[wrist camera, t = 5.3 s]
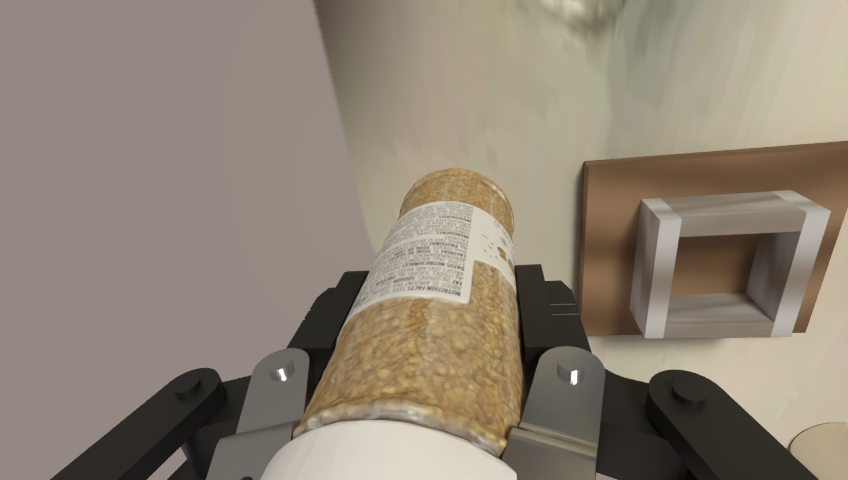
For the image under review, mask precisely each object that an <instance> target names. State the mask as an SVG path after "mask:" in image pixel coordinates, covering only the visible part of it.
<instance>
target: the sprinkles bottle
mask: <svg viewBox="0 0 848 480" xmlns="http://www.w3.org/2000/svg"><path fill="white" fill-rule="evenodd" d="M513 231H514V216H513V212H512V208H511V205H510V203H509V201H508V199H507V197H506V195H505V194H504V192H503V190H502V189H501V188H500V187H498V186H497V185H496V184H495V183H494V182H493V181H492V180H490V179H489V178H487V177H485V176H483V175H481V174H479V173H476V172H473V171H470V170H465V169H461V168H450V169H446V170H439V171H436V172H433V173H430V174H428V175H426V176H425V177H423V178H422V179H420V180H419V181H417V182H416V183H415V184H414V185H413V187H412V188H411V189H410V191H409V192H408V193H407V195H406V196H405V198H404V201H403V203H402V206H401V209H400V216H399V218H398V220H397V222H396V223H395V225H394V226H393V227H392V229H391V230H390V232H389V234H388V236H387V238H386V240H385V242H384V244H383V246H382V248H381V250H380V252H379V254H378V256H377V258H376V260H375V262H374V264H373V266H372V268H371V270H370V272H369V274H368V276H367V278H366V280H365V282H364V284H363V286H362V288H361V290H360V292H359V294H358V296H357V298H356V300H355V302H354V304H353V306H352V308H351V310H350V313H349V315H348V317H347V319H346V321H345V323H344V325H343V327H342V329H341V331H340V333H339V336H338V339H337V343H336V347H335V350H334V352H333V355H332V357H331V359H330V360H329V362H328V365H327V367H326V369H325V370H324V372H323V375H322V378H321V380H320V382H319V384H318V386H317V387H316V389H315V392H314V394H313V397H312V399H311V401H310V403H309V405H308V406H307V408H306V411H305V414H304V417H303V419H302V420H301V422H300V425H299V426H298V427H297V428H295V430H294V432H293V440H292V441H290V442H288V443H287V444H286V445H285V446H283V447H282V448H281V449H280V450H279V451H278V452H277V453H276V454H275V456H274V457H273V458H272V459H271V461H270V462H269V464H268V465H267V467H266V469H265V471H264V473H263V475H262V477H261V479H260V480H517V474H516V472H515V471H514V470H513V469H512V468H511V467H509V466H508V465H507V464H506V463H504V462H503V461H502V458H503V455H504V451H505V448H506V445H507V442H508V438H509V435H510V433H511V430H512V428H513V427H514V426H515V425H516V426H520V423H521V420H522V416H523V413H524V409H525V406H526V399H525V389H524V373H523V336H522V325H521V315H520V306H519V297H518V287H517V278H516V269H515V265H517V264H516V254H515V250H514V246H513V242H512V234H513Z"/></svg>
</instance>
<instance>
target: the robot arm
mask: <svg viewBox="0 0 848 480" xmlns="http://www.w3.org/2000/svg"><path fill="white" fill-rule="evenodd" d="M515 269H516V278H517V287H518V297H519V306H520V315H521V325H522V336H523V373H524V389H525V399H526V406H525V409H524V413H523V416H522V420H521V423H520V426H516V425H515V426H514V427H513V428H512V430H511V433H510V435H509V438H508V442H507V445H506V448H505V451H504V455H503V458H502V461H503V462H504V463H506V464H507V465H508V466H509V467H511V468H512V469H513V470H514V471H515V472H516V474H517V480H596V472H597V473H600V474H603V475H606V476H609V477H612V478H615V479H618V480H819V479H818V478H817V477H816V476H815V475H814V474H813V473H811V472H810V471H809V470H808V469H807V468H806V467H805V466H804V465H803V464H802V463H801V462H800V461H799V460H798V459H796V458H795V457H794V456H793V455H792V454H791V453H790V452H789V451H788V450H787V449H786V448H785V447H784V446H783V445H781V444H780V443H779V442H778V441H777V440H776V439H775V438H774V437H773V436H772V435H771V434H770V433H769V432H768V431H767V430H765V429H764V428H763V427H762V426H761V425H760V424H759V423H758V422H757V421H756V420H755V419H754V418H753V417H752V416H750V415H749V414H748V413H747V412H746V411H745V410H744V409H743V408H742V407H741V406H740V405H739V404H738V403H737V402H735V401H734V400H733V399H732V398H731V397H730V396H729V395H728V394H727V393H726V392H725V391H724V390H723V389H722V388H720V387H719V386H718V385H717V384H716V383H714V382H712V381H711V380H709V379H707V378H705V377H704V376H701V375H699V374H696V373H693V372H689V371H684V370H666V371H662V372H659V373H657V374H655V375H654V376H653V377H652V378H651V380H650V382H649V383H645V382H641V381H636V380H632V379H628V378H624V377H621V376H619V375H616V374H614V373H612V372H610V371H608V370H607V369H605V368H604V366H603V364H602V362H601V361H600V360H599V359H598V358H597V357H596V356H595V355H594V354H592V352H591V349H590V346H589V343H588V340H587V337H586V333H585V330H584V327H583V324H582V321H581V318H580V315H579V312H578V308H577V305H576V302H575V299H574V296H573V293H572V290H571V289H569V288H568V287H567V286H566V285H565V284H564V283H563V282H562V281H545V280H544V276H543V271H542V267H541V264H534V265H515ZM369 272H370V271H348V272H345V273H344V274H343V276H342V277H341V279H340V281H339V283H338V285H337V286H336V288H328V289H327V290H326V291H325V292H323V293H322V294H321V295H320V296H318V297H317V299H316V300H315V302H314V303H313V305H312V307H311V310H310V311H309V312H308V313H307V315H306V317H305V320H303V322H302V323H301V325H300V327H299V328H298V330H297V332H296V333H295V335H294V336H293V338H292V340H291V341H290V343H289V345H288V346H287V348H286V349H283V350H279V351H276V352H274V353H272V354H270V355H268V356H267V357H265V358H264V359H263V360H261V361H260V362H259V363H258V364H257V366H256V367H255V369H254V370H253V373H252V375H250V376H247V377H243V378H238V379H234V380H231V381H226V382H222V381H221V379H220V376H219V374H218V373H217V372H216V371H215V370H213V369H210V368H199V369H195V370H191V371H189V372H186V373H184V374H182V375H180V376H178V377H177V378H175V379H174V380H172V381H171V382H169V383H168V384H167V385H166V386H164V387H163V388H162V389H161V390H160V391H158V392H157V393H156V394H155V395H153V396H152V397H151V398H150V399H149V400H147V401H146V402H145V403H144V404H142V405H141V406H140V407H139V408H137V409H136V410H135V411H134V412H133V413H131V414H130V415H129V416H128V417H126V419H124V420H123V421H122V422H120V423H119V424H118V425H117V426H116V427H114V428H113V429H112V430H111V431H110V432H108V433H107V434H106V435H104V436H103V437H102V438H101V439H100V440H98V441H97V442H96V443H95V444H93V445H92V446H91V447H90V448H88V449H87V450H86V451H85V452H84V453H82V454H81V455H80V456H79V457H77V458H76V459H75V460H74V461H73V462H71V463H70V464H69V465H68V466H66V467H65V468H64V469H63V470H61V471H60V472H59V473H58V474H56V475H55V476H54V477H53V478H52V479H50V480H147V479H148V478H149V477H150V476H151V475H152V474H153V473H154V472H155V471H156V470H157V469H158V468H159V467H160V466H161V465H162V464H163V463H164V462H165V461H166V460H167V459H168V458H169V457H170V456H171V455H172V454H173V453H174V452H175V451H176V450H177V449H178V448H179V447H181V449H182V450H183V452H184V454H185V456H186V458H187V460H186V461H185V462H184V463H183V464H182V465H181V466H180V467H179V468H178V469H177V470H176V471H175V472H174V473H173V474H172V475H171V476H170V477H169V478H168V479H167V480H260V479H261V477H262V475H263V473H264V471H265V469H266V467H267V465H268V464H269V462H270V461H271V459H272V458H273V457H274V456H275V454H276V453H277V452H278V451H279V450H280V449H281V448H282V447H283V446H285V445H286V444H287V443H288V442H290V441H292V440H293V432H294V430H295V428H297V427H298V426H299V425H300V422H301V420H302V419H303V417H304V414H305V411H306V408H307V406H308V405H309V403H310V401H311V399H312V397H313V394H314V392H315V389H316V387H317V386H318V384H319V382H320V380H321V378H322V375H323V372H324V370H325V369H326V367H327V365H328V362H329V360H330V359H331V357H332V355H333V352H334V350H335V347H336V343H337V339H338V336H339V333H340V331H341V329H342V327H343V325H344V323H345V321H346V319H347V317H348V315H349V313H350V310H351V308H352V306H353V304H354V302H355V300H356V298H357V296H358V294H359V292H360V290H361V288H362V286H363V284H364V282H365V280H366V278H367V276H368V274H369Z"/></svg>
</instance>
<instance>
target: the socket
mask: <svg viewBox="0 0 848 480" xmlns="http://www.w3.org/2000/svg"><path fill="white" fill-rule="evenodd" d="M847 208H848V141H841V142H828V143H815V144H802V145H789V146H776V147H763V148H751V149H738V150H725V151H712V152H699V153H686V154H673V155H660V156H647V157H634V158H622V159H609V160H596V161H584V179H583V201H582V223H581V245H580V267H579V289H578V312H579V315H580V318H581V321H582V324H583V327H584V330H585V333H586V335H643V336H644V338H739V337H791V335H792V333H805V332H806V329H807V326H808V323H809V320H810V317H811V314H812V311H813V308H814V305H815V302H816V299H817V296H818V293H819V290H820V287H821V285H822V282H823V279H824V276H825V273H826V270H827V267H828V264H829V261H830V258H831V255H832V252H833V249H834V246H835V243H836V240H837V237H838V234H839V231H840V228H841V225H842V222H843V219H844V216H845V213H846V211H847Z"/></svg>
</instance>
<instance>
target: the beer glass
mask: <svg viewBox="0 0 848 480" xmlns="http://www.w3.org/2000/svg"><path fill="white" fill-rule="evenodd" d="M790 453H791V454H792V455H793V456H794V457H795V458H796V459H798V460H799V461H800V462H801V463H802V464H803V465H804V466H805V467H806V468H807V469H808V470H809V471H810V472H811V473H813V474H814V475H815V476H816V477H817V478H818V479H819V480H848V424H846V423H827V424H821V425H817V426H814V427H812V428H809V429H807V430H805V431H803V432H802V433H800V434H799V435H798V436H797V437H796V438H795V439H794V440H793V442H792V443H791V445H790Z"/></svg>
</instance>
